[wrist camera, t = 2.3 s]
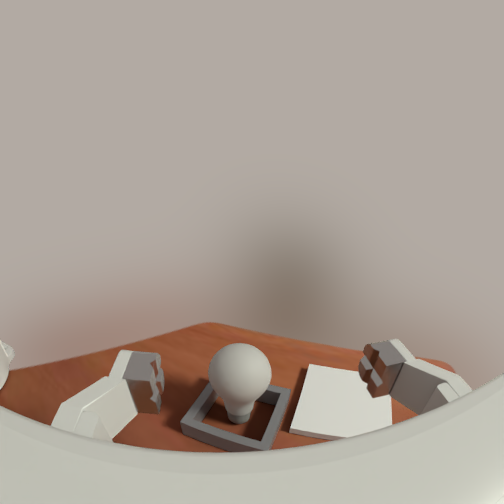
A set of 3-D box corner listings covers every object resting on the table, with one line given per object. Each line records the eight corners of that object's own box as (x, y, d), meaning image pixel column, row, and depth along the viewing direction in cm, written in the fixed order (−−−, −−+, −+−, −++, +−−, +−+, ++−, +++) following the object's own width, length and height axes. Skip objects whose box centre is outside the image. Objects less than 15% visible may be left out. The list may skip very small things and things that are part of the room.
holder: (183, 433, 25) (180, 421, 24) (218, 383, 33) (217, 370, 32) (265, 461, 22) (267, 451, 21) (288, 402, 30) (291, 389, 30)
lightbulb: (275, 417, 28) (286, 348, 25) (240, 448, 24) (242, 382, 20) (237, 394, 32) (238, 324, 28) (201, 419, 27) (192, 349, 24)
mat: (288, 432, 26) (290, 427, 25) (308, 368, 37) (309, 363, 36) (388, 445, 22) (392, 441, 22) (387, 380, 33) (389, 375, 33)
